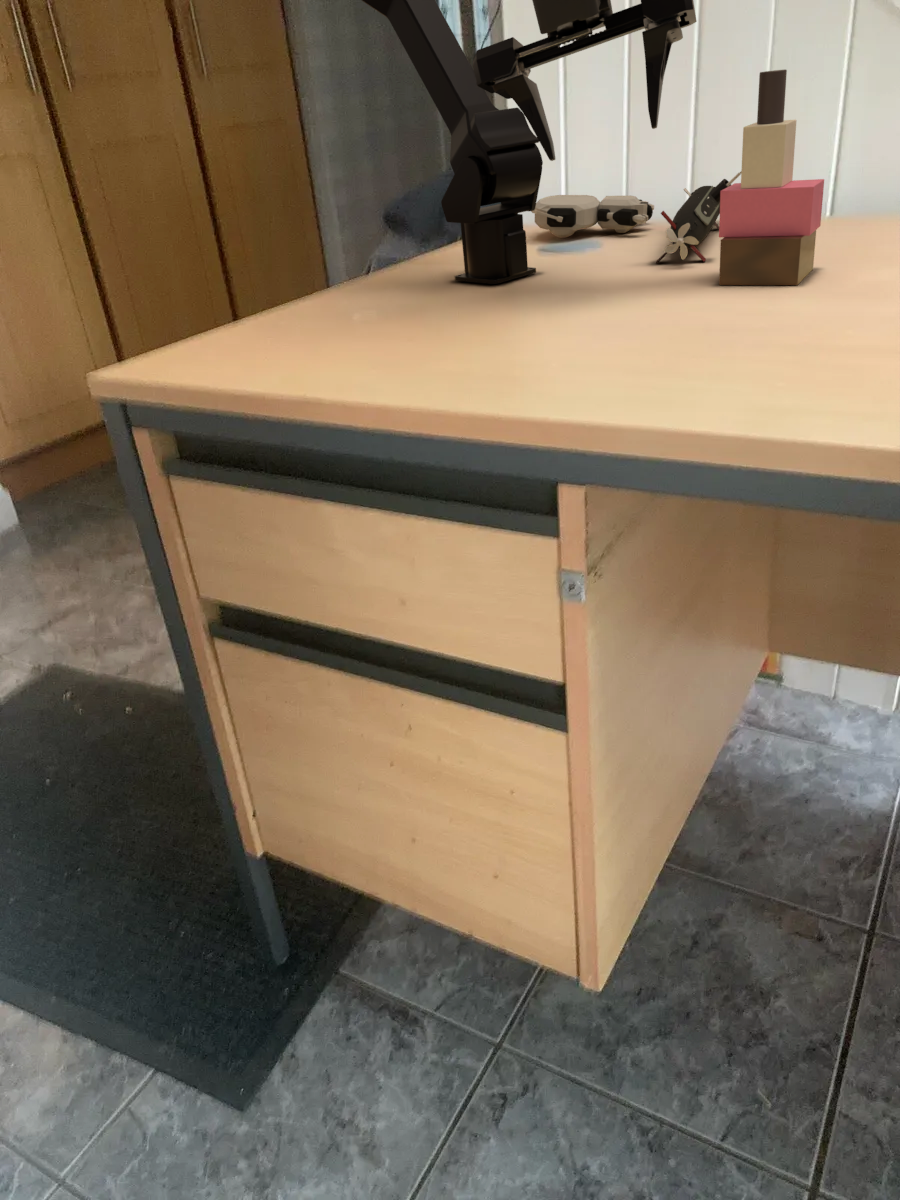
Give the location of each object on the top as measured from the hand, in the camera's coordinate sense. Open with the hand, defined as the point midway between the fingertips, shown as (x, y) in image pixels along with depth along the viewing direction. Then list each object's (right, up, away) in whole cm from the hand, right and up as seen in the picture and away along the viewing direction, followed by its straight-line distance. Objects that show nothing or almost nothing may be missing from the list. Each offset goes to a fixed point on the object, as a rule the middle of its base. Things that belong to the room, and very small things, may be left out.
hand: (602, 144), depth 83 cm
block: (+16, -10, +5) cm, 20 cm away
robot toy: (+5, +7, +38) cm, 39 cm away
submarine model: (+16, +1, +25) cm, 29 cm away
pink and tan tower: (+16, -7, +3) cm, 17 cm away
